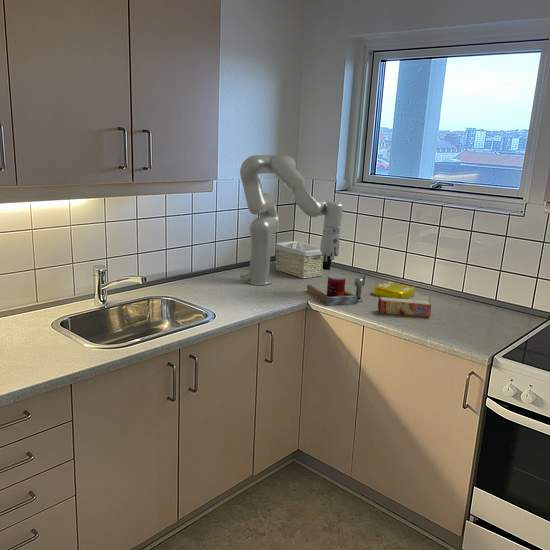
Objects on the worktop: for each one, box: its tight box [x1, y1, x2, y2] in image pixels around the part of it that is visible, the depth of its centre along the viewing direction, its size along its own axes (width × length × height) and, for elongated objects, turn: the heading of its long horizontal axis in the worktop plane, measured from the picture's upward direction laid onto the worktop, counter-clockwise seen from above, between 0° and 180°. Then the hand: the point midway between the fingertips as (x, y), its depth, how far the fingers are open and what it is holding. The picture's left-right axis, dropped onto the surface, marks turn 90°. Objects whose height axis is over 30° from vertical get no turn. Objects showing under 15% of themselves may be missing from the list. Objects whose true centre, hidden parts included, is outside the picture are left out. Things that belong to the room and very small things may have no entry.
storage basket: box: [274, 240, 324, 279], centre depth 287 cm, size 24×16×15 cm
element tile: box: [373, 280, 416, 300], centre depth 258 cm, size 15×15×5 cm
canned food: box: [326, 273, 346, 297], centre depth 244 cm, size 8×8×11 cm
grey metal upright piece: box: [353, 275, 366, 303], centre depth 244 cm, size 4×4×11 cm
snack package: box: [377, 296, 432, 318], centre depth 230 cm, size 21×7×7 cm, turn 87°
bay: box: [306, 284, 358, 307], centre depth 248 cm, size 14×22×4 cm, turn 21°
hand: (326, 269), depth 251 cm, fingers closed
